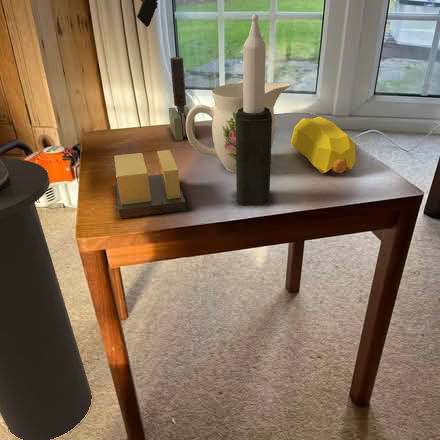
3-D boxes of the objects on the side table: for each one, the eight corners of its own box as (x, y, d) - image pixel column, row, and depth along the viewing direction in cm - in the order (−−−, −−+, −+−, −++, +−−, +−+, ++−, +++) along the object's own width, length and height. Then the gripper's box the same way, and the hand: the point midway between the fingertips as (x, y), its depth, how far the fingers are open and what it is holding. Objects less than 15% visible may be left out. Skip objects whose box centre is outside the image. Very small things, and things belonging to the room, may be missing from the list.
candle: (269, 205, 70) (276, 15, 55) (236, 205, 70) (234, 17, 55) (267, 191, 74) (274, 11, 59) (236, 192, 74) (234, 13, 59)
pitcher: (189, 158, 87) (183, 81, 79) (281, 154, 87) (285, 77, 79) (188, 180, 78) (182, 96, 70) (291, 175, 79) (297, 91, 70)
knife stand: (170, 128, 103) (168, 107, 100) (188, 126, 104) (186, 106, 101) (176, 140, 96) (174, 118, 93) (195, 138, 97) (194, 116, 94)
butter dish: (116, 187, 77) (110, 152, 73) (174, 180, 78) (171, 146, 75) (120, 218, 67) (113, 180, 64) (186, 210, 69) (183, 172, 65)
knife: (174, 130, 102) (168, 56, 93) (186, 128, 102) (180, 55, 94) (178, 138, 97) (172, 61, 88) (190, 136, 98) (185, 60, 89)
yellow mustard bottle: (320, 143, 92) (285, 147, 91) (324, 108, 88) (286, 112, 87) (361, 176, 78) (319, 181, 76) (368, 136, 74) (324, 141, 72)
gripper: (249, -90, 87) (225, -16, 80) (166, -19, 104) (140, 47, 97) (224, -130, 82) (196, -54, 75) (141, -48, 99) (111, 20, 92)
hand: (164, 3), depth 86 cm, fingers open, 13 cm apart
